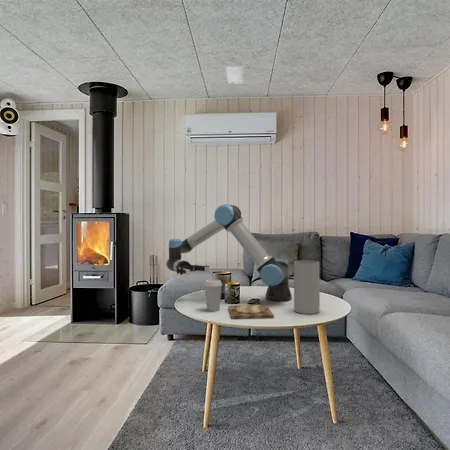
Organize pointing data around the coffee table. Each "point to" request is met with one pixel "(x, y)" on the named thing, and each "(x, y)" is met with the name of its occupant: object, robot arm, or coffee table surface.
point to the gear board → (250, 312)
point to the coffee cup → (213, 294)
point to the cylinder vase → (306, 287)
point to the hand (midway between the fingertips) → (200, 271)
